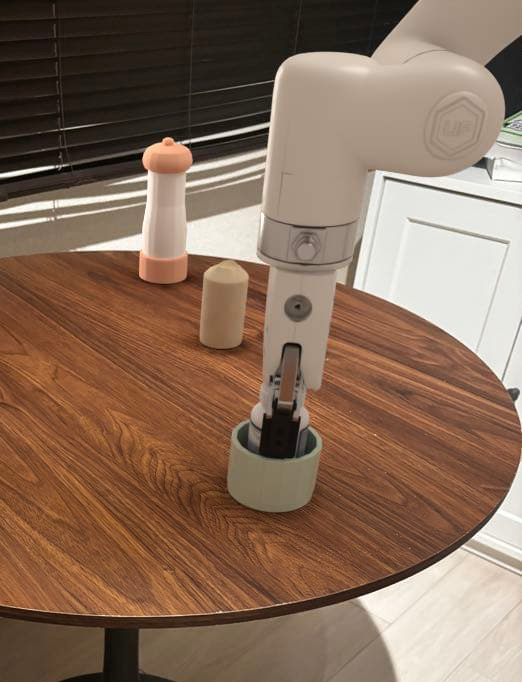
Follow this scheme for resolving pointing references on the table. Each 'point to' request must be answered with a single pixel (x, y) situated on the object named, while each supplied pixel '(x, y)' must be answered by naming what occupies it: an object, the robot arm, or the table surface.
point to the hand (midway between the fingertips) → (278, 436)
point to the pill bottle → (258, 418)
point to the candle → (223, 305)
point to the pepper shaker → (165, 214)
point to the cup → (272, 474)
